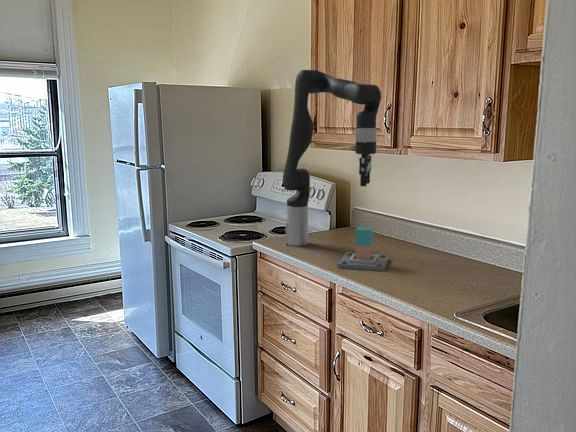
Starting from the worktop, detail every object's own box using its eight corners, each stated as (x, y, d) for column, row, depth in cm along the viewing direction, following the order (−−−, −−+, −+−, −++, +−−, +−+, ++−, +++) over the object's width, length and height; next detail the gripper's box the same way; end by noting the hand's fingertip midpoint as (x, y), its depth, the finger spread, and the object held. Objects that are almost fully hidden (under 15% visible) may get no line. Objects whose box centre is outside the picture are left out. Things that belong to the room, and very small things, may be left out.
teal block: (355, 245, 198) (355, 229, 197) (357, 242, 204) (357, 226, 203) (370, 246, 197) (370, 230, 196) (372, 243, 202) (372, 227, 201)
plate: (337, 267, 196) (337, 261, 195) (345, 256, 212) (345, 250, 211) (383, 271, 191) (384, 264, 191) (388, 259, 207) (388, 253, 207)
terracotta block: (355, 261, 199) (355, 245, 198) (357, 257, 205) (357, 242, 204) (369, 261, 198) (370, 246, 197) (371, 258, 203) (372, 243, 202)
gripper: (358, 139, 201) (357, 182, 204) (352, 141, 188) (351, 186, 191) (378, 139, 199) (377, 182, 202) (373, 141, 186) (372, 187, 188)
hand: (365, 184), depth 196 cm, fingers open, 8 cm apart
